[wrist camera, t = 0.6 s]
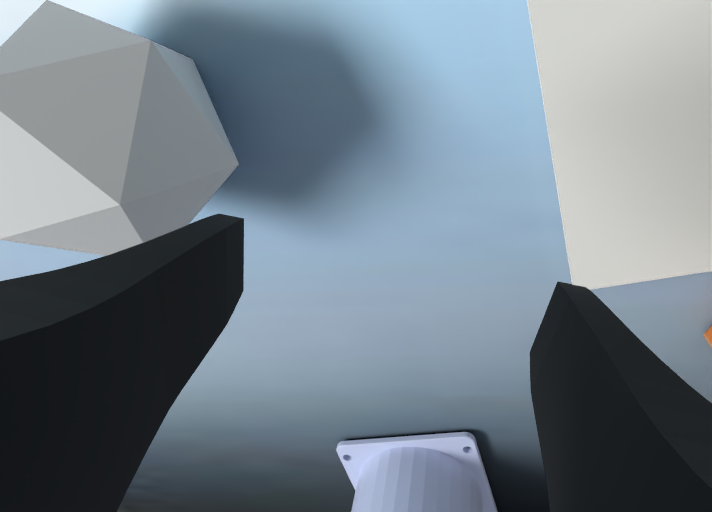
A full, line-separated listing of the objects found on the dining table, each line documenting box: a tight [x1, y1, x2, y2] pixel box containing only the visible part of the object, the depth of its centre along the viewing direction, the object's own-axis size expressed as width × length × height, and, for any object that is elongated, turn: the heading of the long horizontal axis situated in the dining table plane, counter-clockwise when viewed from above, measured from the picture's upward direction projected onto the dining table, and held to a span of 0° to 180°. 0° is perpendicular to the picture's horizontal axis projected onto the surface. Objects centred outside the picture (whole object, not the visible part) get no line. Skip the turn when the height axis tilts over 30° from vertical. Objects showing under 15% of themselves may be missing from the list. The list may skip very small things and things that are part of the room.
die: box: [0, 0, 239, 256], centre depth 18 cm, size 8×9×10 cm
